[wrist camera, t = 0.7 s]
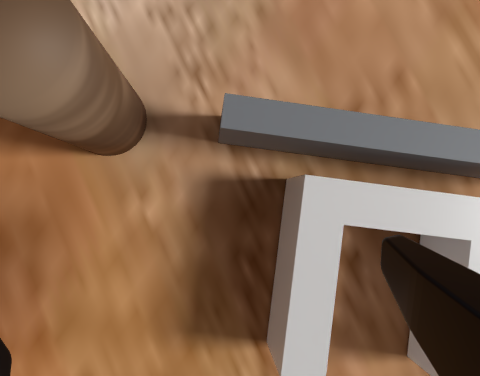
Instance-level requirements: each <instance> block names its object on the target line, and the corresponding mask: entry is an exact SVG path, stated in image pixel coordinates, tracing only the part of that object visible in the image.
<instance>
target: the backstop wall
mask: <svg viewBox="0 0 480 376" xmlns="http://www.w3.org/2000/svg"><path fill="white" fill-rule="evenodd" d="M218 143H224V144H231V145H239V146H246V147H253V148H261V149H268V150H276V151H283V152H291V153H298V154H305V155H313V156H320V157H328V158H335V159H342V160H350V161H357V162H365V163H372V164H379V165H387V166H394V167H402V168H409V169H417V170H424V171H431V172H439V173H446V174H454V175H461V176H468V177H476V178H480V130H478V129H471V128H464V127H457V126H450V125H443V124H436V123H429V122H422V121H415V120H408V119H401V118H394V117H387V116H380V115H373V114H366V113H359V112H352V111H345V110H339V109H332V108H325V107H318V106H311V105H304V104H297V103H290V102H283V101H276V100H269V99H262V98H255V97H248V96H241V95H234V94H227V93H225V96H224V103H223V109H222V116H221V124H220V132H219V140H218Z"/></svg>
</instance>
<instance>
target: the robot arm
mask: <svg viewBox="0 0 480 376" xmlns="http://www.w3.org/2000/svg"><path fill="white" fill-rule="evenodd" d="M381 269H382V272H383V275H384V277H385V279H386V281H387V283H388V285H389V287H390V289H391V291H392V293H393V295H394V298H395V300H396V302H397V304H398V306H399V308H400V310H401V312H402V314H403V316H404V318H405V321H406V322H407V324H408V326H409V328H410V330H411V332H412V334H413V335H414V337H415V339H416V340H417V342H418V343H419V345H420V347H421V348H422V350H423V352H424V353H425V355H426V356H427V358H428V360H429V361H430V363H431V364H432V366H433V368H434V369H435V371H436V372H437V374H438V376H480V274H479V273H477V272H475V271H473V270H471V269H469V268H467V267H465V266H463V265H461V264H459V263H457V262H455V261H453V260H451V259H449V258H447V257H445V256H443V255H441V254H439V253H437V252H435V251H433V250H431V249H429V248H427V247H425V246H423V245H421V244H419V243H417V242H415V241H413V240H411V239H409V238H407V237H405V236H402V235H395V236H390V237H386V238H384V239H383V241H382V249H381ZM11 363H12V359H11V354H10V352H9V350H8V348H7V347H6V346H5V344H4V343H3V341H2V340H1V338H0V376H10V372H11Z"/></svg>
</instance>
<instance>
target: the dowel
mask: <svg viewBox="0 0 480 376" xmlns="http://www.w3.org/2000/svg"><path fill="white" fill-rule="evenodd" d="M0 117H1V118H4V119H6V120H9V121H12V122H14V123H17V124H19V125H22V126H25V127H27V128H30V129H33V130H35V131H38V132H41V133H43V134H46V135H49V136H51V137H54V138H57V139H59V140H62V141H65V142H67V143H70V144H72V145H75V146H78V147H80V148H83V149H86V150H88V151H91V152H94V153H97V154H100V155H106V156H112V155H119V154H122V153H124V152H126V151H128V150H130V149H131V148H133V147H134V146H135V145H136V144H137V143H138V142H139V140H140V139H141V138H142V136H143V134H144V131H145V128H146V121H147V118H146V110H145V107H144V105H143V103H142V101H141V99H140V98H139V96H138V95H137V93H136V92H135V91H134V89H133V88H132V86H131V85H130V84H129V82H128V81H127V79H126V78H125V77H124V75H123V74H122V72H121V71H120V70H119V68H118V67H117V65H116V64H115V63H114V61H113V60H112V58H111V57H110V55H109V54H108V53H107V51H106V50H105V48H104V47H103V46H102V44H101V43H100V41H99V40H98V39H97V37H96V36H95V34H94V33H93V32H92V30H91V29H90V27H89V26H88V25H87V23H86V22H85V20H84V19H83V18H82V16H81V15H80V13H79V12H78V11H77V9H76V8H75V6H74V5H73V4H72V2H71V1H70V0H0Z"/></svg>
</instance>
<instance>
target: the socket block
mask: <svg viewBox="0 0 480 376" xmlns="http://www.w3.org/2000/svg"><path fill="white" fill-rule="evenodd" d="M344 225H350V226H358V227H366V228H374V229H382V230H390V231H398V232H406V233H414V234H421V237H420V244H421V245H423V246H425V247H427V248H429V249H431V250H433V251H435V252H437V253H439V254H441V255H443V256H445V257H447V258H449V259H451V260H453V261H455V262H457V263H459V264H461V265H463V266H465V267H467V268H469V269H471V270H473V271H475V272H477V273H479V274H480V198H479V197H471V196H464V195H456V194H449V193H441V192H433V191H426V190H418V189H411V188H403V187H395V186H388V185H380V184H372V183H365V182H357V181H350V180H342V179H334V178H327V177H319V176H312V175H302V176H297V177H293V178H289V179H286V187H285V195H284V204H283V212H282V220H281V228H280V236H279V244H278V253H277V261H276V269H275V277H274V285H273V294H272V302H271V310H270V318H269V326H268V334H267V344H268V347H269V349H270V352H271V355H272V357H273V360H274V362H275V365H276V367H277V370H278V373H279V375H280V376H326V371H327V363H328V354H329V346H330V337H331V329H332V320H333V312H334V303H335V295H336V286H337V278H338V269H339V261H340V252H341V244H342V235H343V227H344ZM407 357H409V358H410V359H411V360H412V361H414V362H415V363H416V364H417V365H418V366H420V367H421V368H422V369H423V370H425V371H426V372H427V373H428V374H430V375H431V376H438V374H437V372H436V371H435V369H434V368H433V366H432V364H431V363H430V361H429V360H428V358H427V356H426V355H425V353H424V352H423V350H422V348H421V347H420V345H419V343H418V342H417V340H416V339H415V337H414V335H413V334H412V332H411V330H410V335H409V344H408V353H407Z"/></svg>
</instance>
